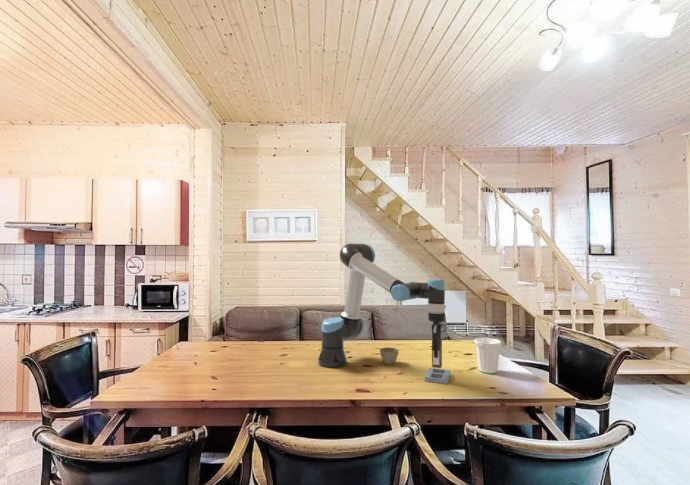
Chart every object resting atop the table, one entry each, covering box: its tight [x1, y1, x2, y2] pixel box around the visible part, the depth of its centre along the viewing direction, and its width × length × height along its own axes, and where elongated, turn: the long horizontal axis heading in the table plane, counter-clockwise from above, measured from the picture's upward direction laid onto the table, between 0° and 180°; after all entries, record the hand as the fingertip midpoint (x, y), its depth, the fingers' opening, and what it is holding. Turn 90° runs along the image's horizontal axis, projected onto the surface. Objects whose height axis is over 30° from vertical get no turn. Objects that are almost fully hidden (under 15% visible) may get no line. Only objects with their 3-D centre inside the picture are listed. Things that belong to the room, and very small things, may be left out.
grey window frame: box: [424, 367, 451, 385], centre depth 169 cm, size 10×14×2 cm
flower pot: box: [379, 346, 400, 365], centre depth 191 cm, size 10×10×7 cm
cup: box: [474, 337, 502, 375], centre depth 179 cm, size 12×12×15 cm
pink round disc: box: [393, 370, 404, 375], centre depth 176 cm, size 5×5×1 cm
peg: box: [431, 339, 443, 369], centre depth 166 cm, size 4×4×12 cm
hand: (436, 362), depth 166 cm, fingers closed on peg, 4 cm apart
